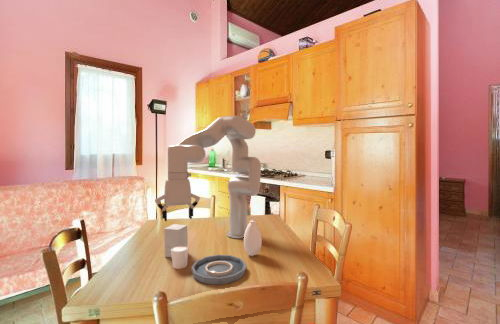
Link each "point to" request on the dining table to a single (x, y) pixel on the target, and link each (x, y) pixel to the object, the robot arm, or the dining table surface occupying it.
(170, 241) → the supplement box
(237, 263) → the round tray
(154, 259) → the dining table surface
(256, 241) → the air blower bulb
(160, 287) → the dining table surface
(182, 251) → the pale cup
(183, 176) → the robot arm
